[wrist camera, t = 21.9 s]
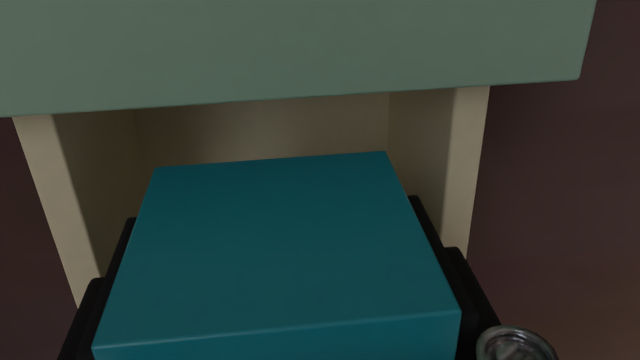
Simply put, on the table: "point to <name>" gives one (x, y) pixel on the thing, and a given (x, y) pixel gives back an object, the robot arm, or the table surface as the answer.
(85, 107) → the cabinet
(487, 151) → the table surface
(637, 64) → the table surface
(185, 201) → the cube
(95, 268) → the drawer
